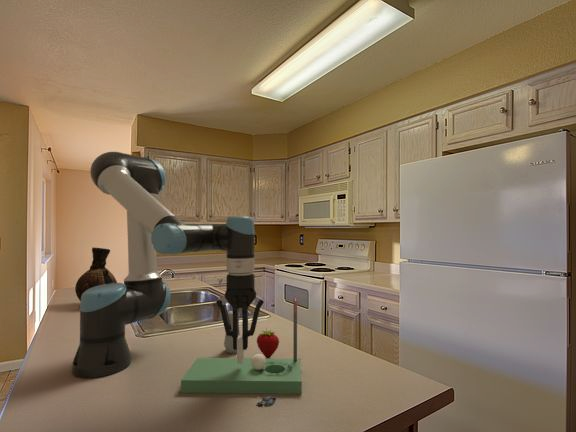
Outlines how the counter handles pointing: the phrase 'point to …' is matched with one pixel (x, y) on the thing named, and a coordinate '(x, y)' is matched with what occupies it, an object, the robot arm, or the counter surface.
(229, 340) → the salt shaker
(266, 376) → the board
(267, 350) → the strawberry
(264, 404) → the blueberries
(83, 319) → the robot arm
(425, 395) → the counter surface
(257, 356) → the white ball
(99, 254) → the ceramic vessel
